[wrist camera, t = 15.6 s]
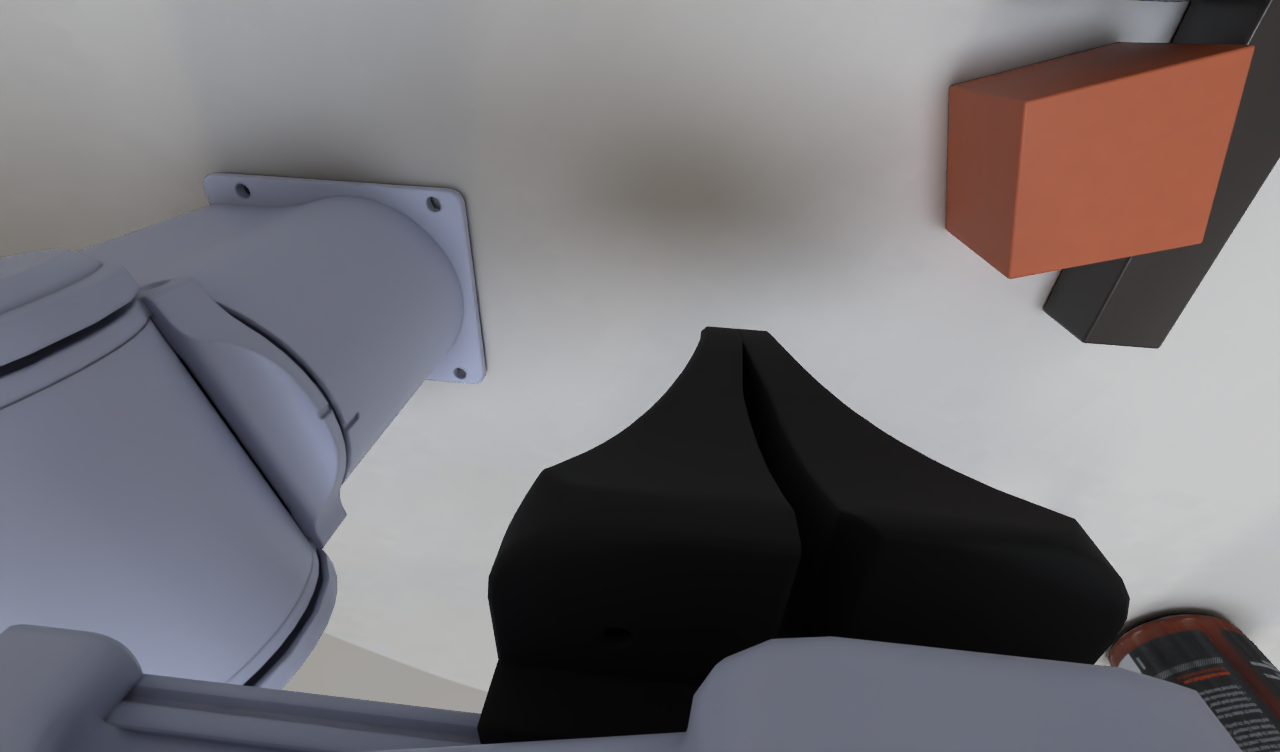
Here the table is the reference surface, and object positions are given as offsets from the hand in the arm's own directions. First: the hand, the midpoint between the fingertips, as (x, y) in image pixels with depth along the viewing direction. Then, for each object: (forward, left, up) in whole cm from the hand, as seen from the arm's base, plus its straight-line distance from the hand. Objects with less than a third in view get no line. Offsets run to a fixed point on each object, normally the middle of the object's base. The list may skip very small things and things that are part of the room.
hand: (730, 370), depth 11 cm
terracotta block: (+9, +4, -9) cm, 14 cm away
